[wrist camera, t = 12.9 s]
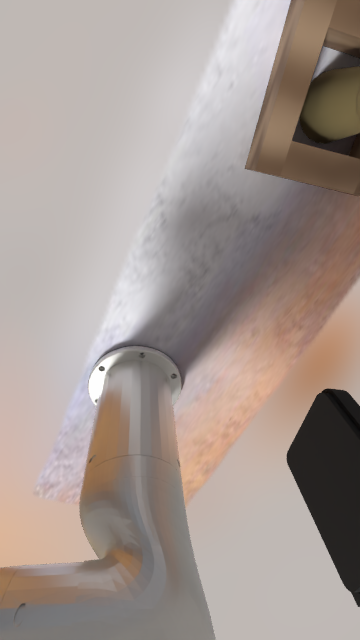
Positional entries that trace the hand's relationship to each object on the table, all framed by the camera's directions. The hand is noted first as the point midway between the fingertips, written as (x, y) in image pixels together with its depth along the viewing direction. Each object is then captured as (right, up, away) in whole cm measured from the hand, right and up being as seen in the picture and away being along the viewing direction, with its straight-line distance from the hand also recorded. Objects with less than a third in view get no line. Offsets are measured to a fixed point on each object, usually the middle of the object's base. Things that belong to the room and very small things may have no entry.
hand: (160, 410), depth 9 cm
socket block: (+15, +23, +22) cm, 35 cm away
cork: (+15, +23, +22) cm, 35 cm away
